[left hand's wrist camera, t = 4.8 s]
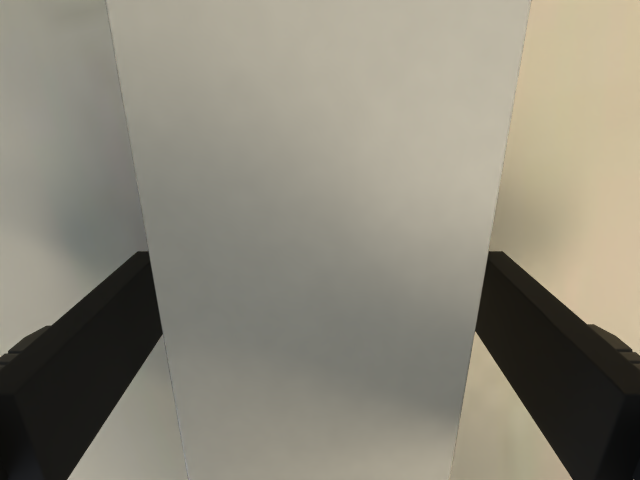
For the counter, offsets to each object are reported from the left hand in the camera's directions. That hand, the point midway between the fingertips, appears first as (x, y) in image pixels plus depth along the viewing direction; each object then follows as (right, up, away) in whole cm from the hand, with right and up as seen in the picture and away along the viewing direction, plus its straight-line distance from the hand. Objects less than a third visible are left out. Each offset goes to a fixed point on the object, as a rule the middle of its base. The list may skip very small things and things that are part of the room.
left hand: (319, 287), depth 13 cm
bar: (0, +24, -7) cm, 25 cm away
